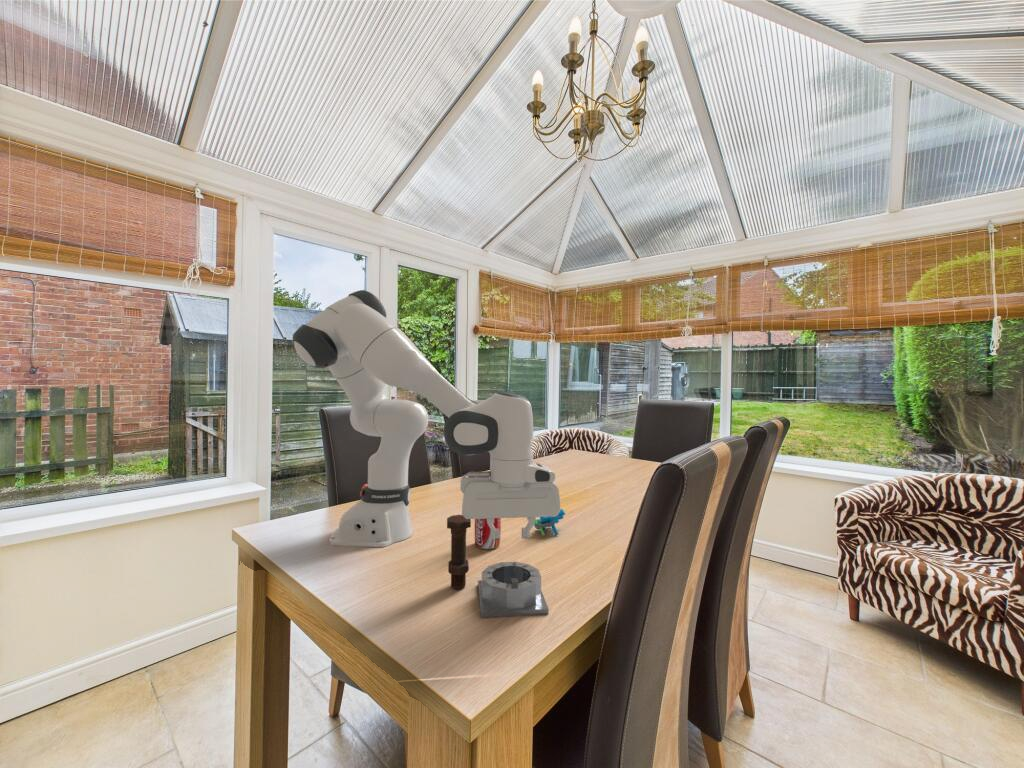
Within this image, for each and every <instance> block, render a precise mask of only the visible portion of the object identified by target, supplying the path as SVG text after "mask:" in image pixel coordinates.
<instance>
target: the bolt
mask: <svg viewBox="0 0 1024 768" xmlns="http://www.w3.org/2000/svg"><path fill="white" fill-rule="evenodd" d="M471 522H472V519H465V517H464V516H463V515H462V514H456V515H450V516H448V517H447V518H446V529H449V530H450V534H451V535H450V538H451V539H450V549H451V552H450V555H451V556H450V560H449V561H448V562H447V563H448V565H447V566H448V573H449V574H450V587H451V588H452V589H454V590H459V591H460V590H463V588H465V587H466V584H467V582H466V581H467V579H466V578H467V576H466V575H467V573H468V572H469V569H470V567H469V566H470V565H469V564H470V563H469V560H468V559H467V558H466V557H467V529H469V528H471V526H472V525H471V524H472V523H471Z"/></svg>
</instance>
